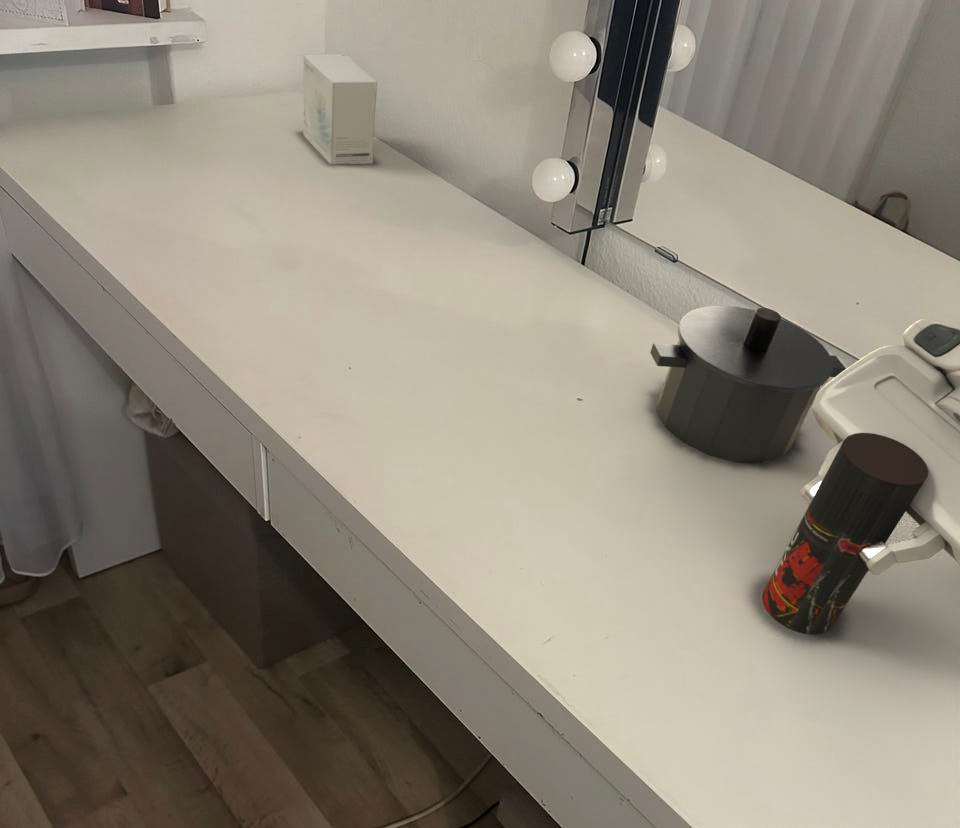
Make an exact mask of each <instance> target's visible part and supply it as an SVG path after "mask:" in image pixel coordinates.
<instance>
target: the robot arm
mask: <svg viewBox="0 0 960 828" xmlns="http://www.w3.org/2000/svg"><path fill="white" fill-rule="evenodd" d="M902 340H903V344H902V345H901V344H888V345H884V346H881V347H879V348H876V349H875V350H873V351H871V352H869V353H867V354H865V355H864V356H863V357H862V358H861V357H860V359H858V360H857V361H855V362H854V363H852V364H850V365H849V367H847V368H846V369H845V370H844V371H843V372H841V373H840V374H839V375H837V376H836V377H832V379H831V380H829V381H827V383H825V384H824V385H823V386H821V387H820V388H819V390H818V393H817V395H816V397H815V399H814V401H813V403H812V405H811V410H812V413H813V415H814V417H815V420H816V421H817V423H818V425H819V427H820V429H821V430H822V431H823V432H824V433H825V434H826V435H827V436H828V437H829V439H831V441H833V442H834V443H835V444H836V445H835V446H833V447H832V448H831V449H829V451H828V453H827V455H826V456H825V459H824V461H823V463H822V464H821V466H820V469H819V471H818V473H817V474H818V475H817V476H816V477H814V478H813V479H811V480H810V481H809V482H808V483H806V484H805V485H804V486H802V487H801V489H800V491H799V494H800V495H801V497H802V499H803V500H804V501H805V502H806V504H807V505H808V506H809V505H810V503H811V501H812V499H813V497H814V496H815V494H816V492H817V490H818V488H819V486H820V484H821V482H822V480H823V479H824V477H825V475H826V473H827V471H828V469H829V467H830V465H831V464H832V462H833V460H834V458H835V456H836V454H837V452H838V450H839V448H840V447H841V445H842V443H843V441H844V440H845V439H846V438H847V437H848V436H850V435H852V434H855V433H873V434H878V435H882V436H886V437H888V438H891V439H894V440H896V441H898V442H900V443H902V444H904V445H906V446H907V447H909V448H910V449H912V450H913V451H915V452H916V453H917V454H918V455H919V456H920V457H921V458H922V459H923V461H924V462H925V463H926V465H927V468H928V477H927V478H926V480H925V481H924V483H923V485H922V486H921V488H920V489H919V491H918V493H917V494H916V496H915V497H914V499H913V500H912V502H911V503H910V505H909V507H908V508H907V510H906V511H905V513H906V514H907V515H908V516H909V517H910V518H911V519H912V520H913V521H914V522H915V523H916V524H917V525H918V526H916V528H914V529H913V530H912V532H911V534H912V536H913V538H910V539H906V540H901V541H897V542H892V543H888V544H886V543H884V542H883V541H882V540H880V539H877V540H876V541H875V542H873V543H871V544H870V547H866V548H864V549H863V550H861V551H860V553H859V555H858V556H859V558H860V559H861V562H862V563H863V564H864V565H865V566H866V567H867V569H868V572H870V573H871V574H872V576H874V577H876V576H880V575H881V574H882V573H885V571H887V570H888V569H890V568H891V567H892V566H894V565H895V564H903V563H908V562H909V563H910V562H915V561H921V560H928V559H930V558H932V557H933V556H935V555H936V554H938V553H940V551H942V550H944V551H945V552H946V553H947V554H948V555H949V556H950V557H951V558H952V559H953V560H954V561H955V562H956V563H957V564H958V565H959V566H960V326H956V325H953V324H949V323H946V322H942V321H939V320H937V319H934V318H928V317H927V318H921V319H918V320H916V321H914V322H913V323H912V324H911V325H909V326H908V327H907V328H906V329H905V330H904V332H903V334H902Z"/></svg>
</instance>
